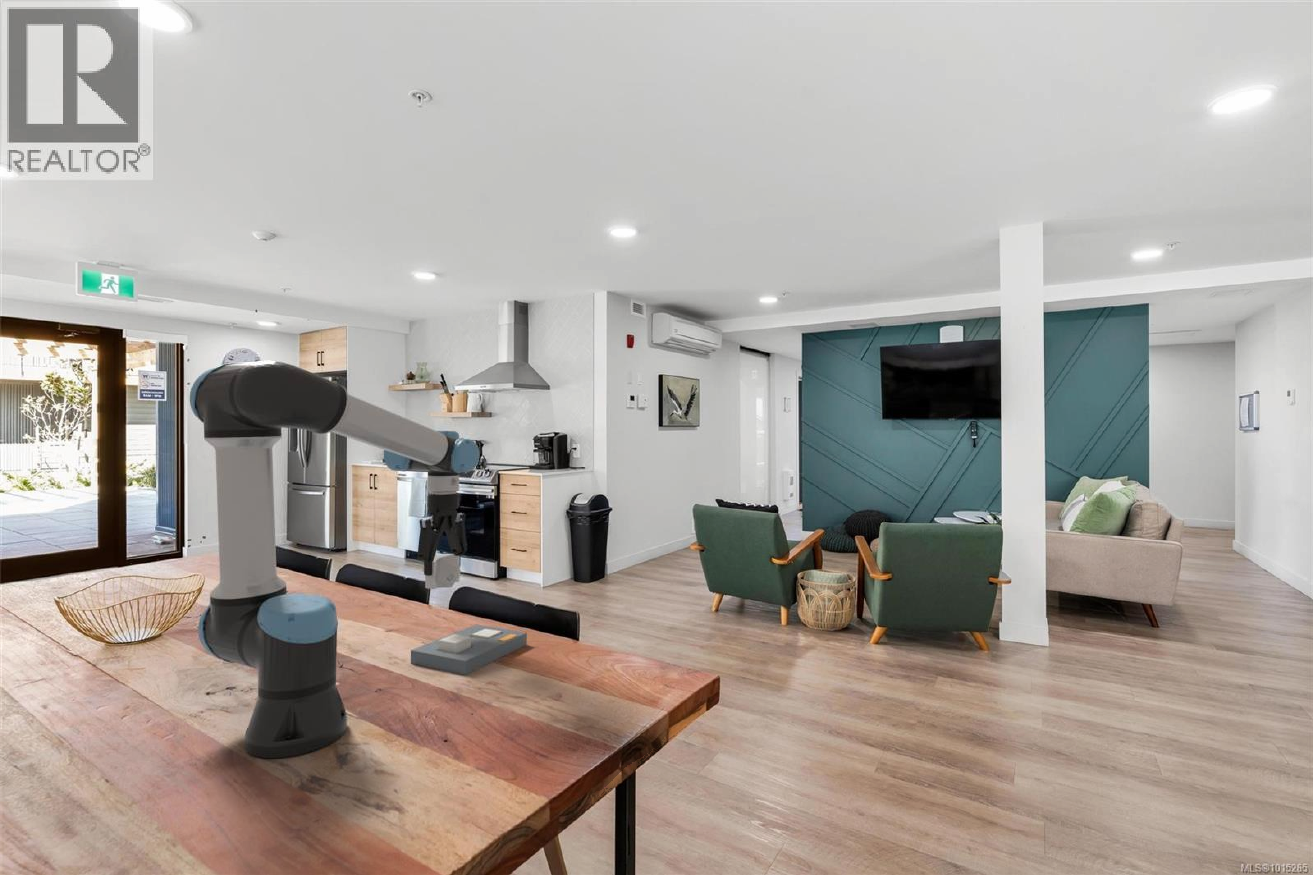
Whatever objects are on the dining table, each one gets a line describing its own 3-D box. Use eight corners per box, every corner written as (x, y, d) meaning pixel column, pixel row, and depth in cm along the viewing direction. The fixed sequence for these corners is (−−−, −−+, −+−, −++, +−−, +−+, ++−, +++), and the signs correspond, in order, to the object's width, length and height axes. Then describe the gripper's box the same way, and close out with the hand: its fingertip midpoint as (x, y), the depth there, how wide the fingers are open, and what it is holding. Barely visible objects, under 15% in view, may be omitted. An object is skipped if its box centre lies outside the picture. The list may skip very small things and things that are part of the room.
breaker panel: (465, 674, 134) (465, 660, 134) (410, 663, 141) (410, 649, 141) (526, 644, 154) (526, 631, 154) (476, 635, 161) (476, 623, 161)
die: (442, 594, 147) (466, 559, 151) (412, 576, 147) (436, 542, 151) (448, 598, 154) (470, 565, 158) (418, 581, 155) (442, 548, 158)
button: (455, 657, 139) (455, 643, 139) (438, 654, 141) (438, 640, 141) (470, 650, 143) (471, 636, 143) (454, 647, 146) (454, 633, 146)
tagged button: (487, 650, 149) (488, 637, 149) (471, 647, 151) (471, 634, 151) (501, 644, 153) (501, 631, 153) (485, 641, 156) (485, 628, 156)
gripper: (425, 496, 142) (424, 595, 142) (482, 490, 161) (481, 577, 161) (400, 495, 145) (399, 592, 145) (459, 489, 164) (458, 575, 164)
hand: (442, 584), depth 153 cm, fingers closed on die, 7 cm apart
